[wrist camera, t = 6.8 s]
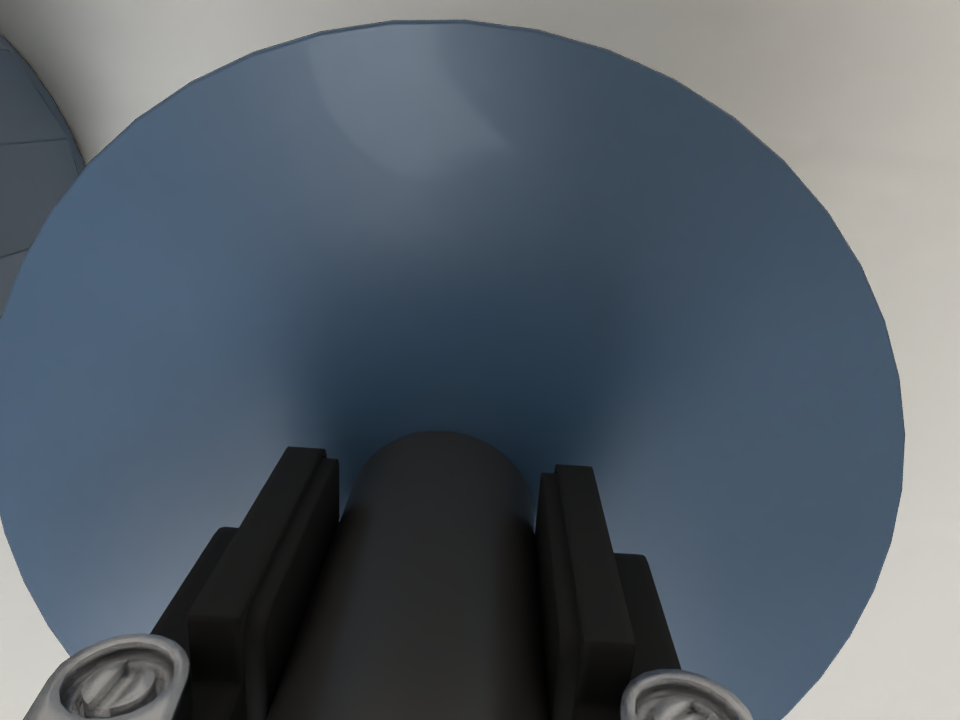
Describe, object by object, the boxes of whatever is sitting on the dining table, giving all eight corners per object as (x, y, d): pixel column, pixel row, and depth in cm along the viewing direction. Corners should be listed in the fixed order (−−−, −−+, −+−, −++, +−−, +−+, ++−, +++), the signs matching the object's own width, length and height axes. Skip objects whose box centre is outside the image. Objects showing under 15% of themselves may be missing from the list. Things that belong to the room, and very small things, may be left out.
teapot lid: (1060, 372, 13) (1712, 699, 6) (545, 888, 17) (577, 1423, 10) (278, -206, 10) (-163, -802, 3) (-90, 568, 14) (-610, 989, 8)
